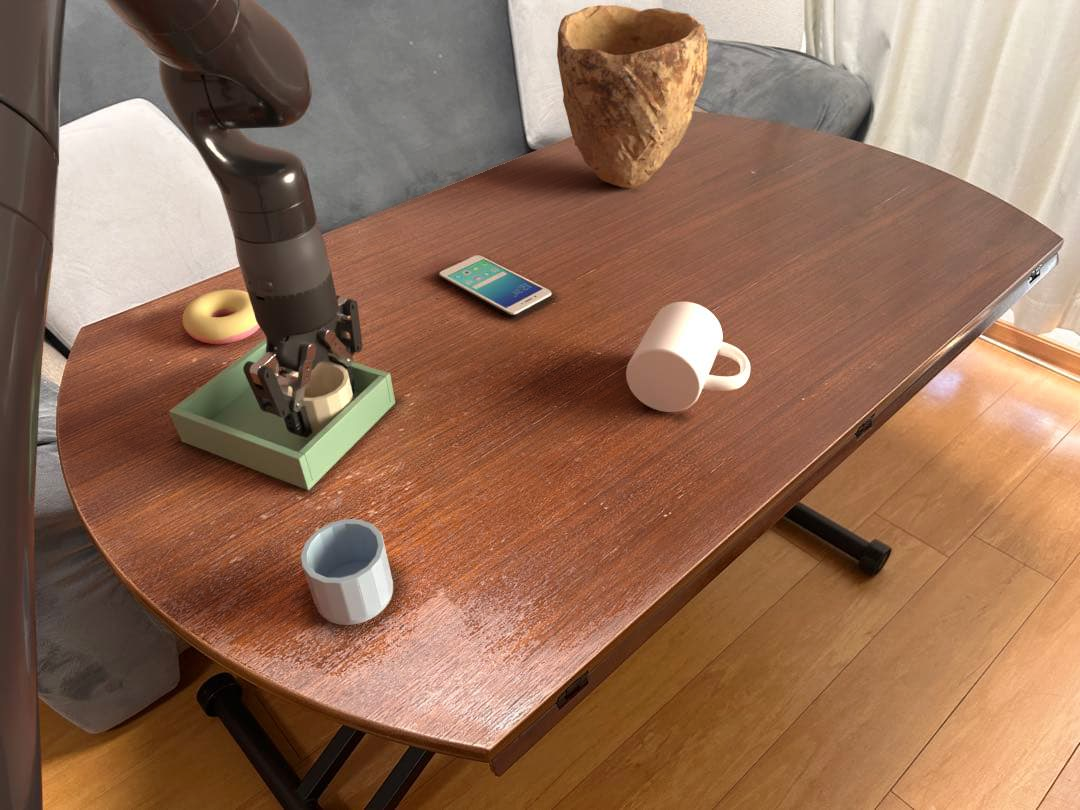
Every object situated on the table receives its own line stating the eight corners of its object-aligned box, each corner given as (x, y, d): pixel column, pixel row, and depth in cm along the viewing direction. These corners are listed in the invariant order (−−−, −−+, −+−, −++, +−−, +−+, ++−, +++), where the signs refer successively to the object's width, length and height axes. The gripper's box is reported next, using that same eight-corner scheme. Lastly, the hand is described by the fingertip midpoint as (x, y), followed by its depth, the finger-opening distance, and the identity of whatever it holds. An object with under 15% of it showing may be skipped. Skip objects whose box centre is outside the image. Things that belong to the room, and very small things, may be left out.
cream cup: (332, 449, 76) (321, 407, 72) (282, 432, 78) (269, 390, 75) (370, 412, 80) (361, 371, 77) (321, 396, 82) (311, 355, 79)
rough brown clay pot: (529, 192, 124) (524, 26, 108) (597, 148, 139) (602, -4, 123) (652, 224, 114) (666, 47, 99) (712, 173, 129) (733, 11, 113)
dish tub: (308, 490, 72) (299, 459, 70) (181, 441, 78) (168, 411, 75) (395, 403, 82) (390, 373, 80) (277, 365, 88) (268, 335, 86)
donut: (219, 370, 91) (284, 328, 95) (206, 343, 88) (274, 302, 92) (176, 329, 95) (239, 291, 100) (161, 302, 92) (228, 264, 96)
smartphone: (478, 253, 106) (554, 291, 98) (478, 259, 107) (554, 297, 98) (436, 272, 102) (512, 314, 94) (437, 278, 103) (512, 320, 94)
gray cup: (363, 637, 60) (350, 594, 56) (299, 607, 62) (283, 565, 58) (408, 577, 64) (399, 534, 61) (347, 552, 66) (335, 509, 63)
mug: (623, 402, 82) (627, 341, 77) (650, 353, 89) (655, 294, 84) (734, 430, 78) (746, 368, 73) (753, 376, 85) (765, 316, 80)
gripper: (306, 229, 74) (338, 366, 85) (195, 300, 64) (247, 445, 75) (369, 244, 71) (393, 384, 82) (264, 320, 61) (307, 468, 72)
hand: (324, 413), depth 78 cm, fingers closed on cream cup, 6 cm apart
